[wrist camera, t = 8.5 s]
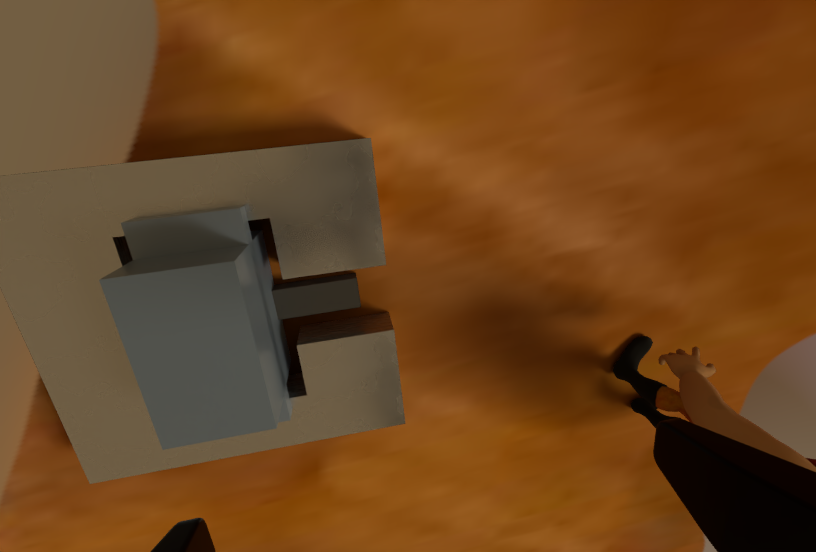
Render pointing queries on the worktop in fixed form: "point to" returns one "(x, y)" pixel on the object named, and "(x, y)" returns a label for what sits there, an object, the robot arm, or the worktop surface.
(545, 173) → the worktop surface
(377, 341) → the plate
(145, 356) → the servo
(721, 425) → the action figure
